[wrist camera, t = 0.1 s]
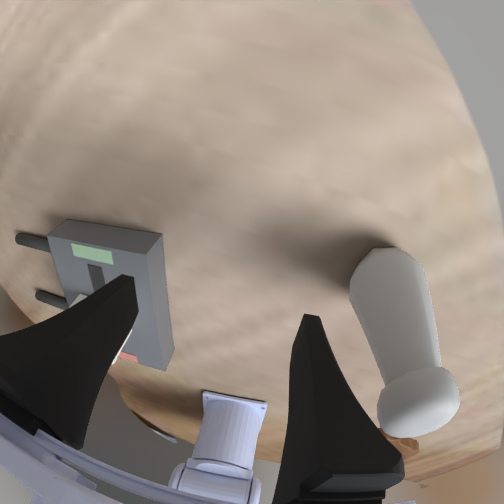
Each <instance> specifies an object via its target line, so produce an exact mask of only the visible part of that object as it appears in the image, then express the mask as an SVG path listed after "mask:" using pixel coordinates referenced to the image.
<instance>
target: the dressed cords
mask: <svg viewBox="0 0 504 504" xmlns="http://www.w3.org/2000/svg"><path fill="white" fill-rule="evenodd" d="M15 241H16V243H17V244H20V245H23V246H27V247H31V248H35V249H39V250H43V251H47V252H51V250H50V246H49V242H48V239H44V238H39V237H35V236H30V235H26V234H21V233H19V234H17V235H16V237H15ZM35 297H36V299H37V300H39V301H42V302H44V303H47V304H49V305H52V306H55V307H58V308H60V309H63V310H66V309H68V308H69V306H68V303H67V300H65V299H62V298H59V297H57V296H54V295H51V294H48V293H45V292H42V291H37V292H36V294H35Z"/></svg>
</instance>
